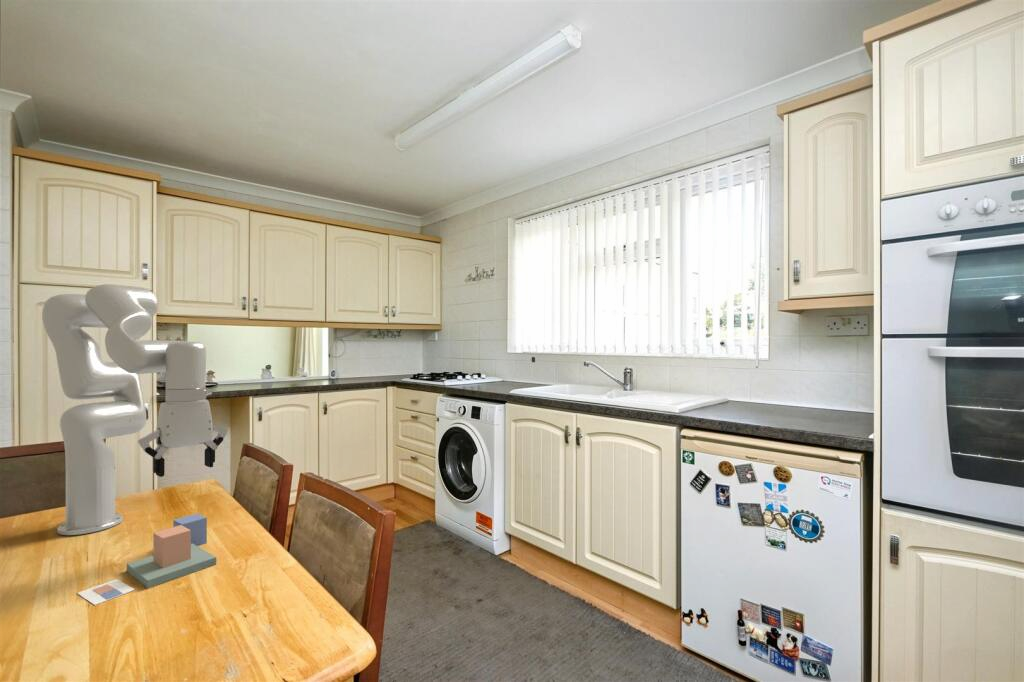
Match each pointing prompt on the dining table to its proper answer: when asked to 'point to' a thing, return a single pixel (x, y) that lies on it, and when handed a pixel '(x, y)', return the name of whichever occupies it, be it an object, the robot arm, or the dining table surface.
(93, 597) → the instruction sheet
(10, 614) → the dining table surface
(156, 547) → the brick
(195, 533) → the brick
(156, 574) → the baseplate
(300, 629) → the dining table surface
